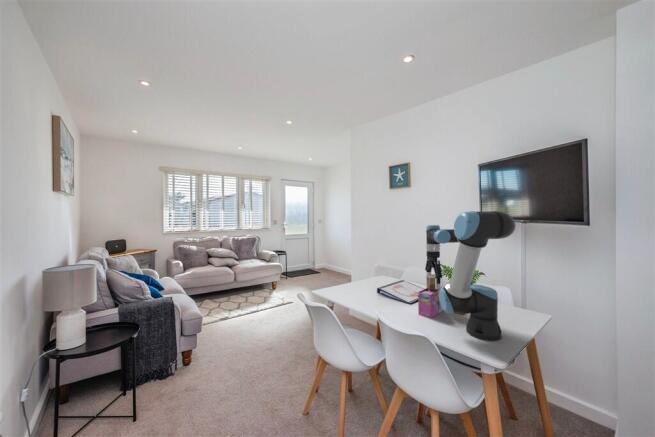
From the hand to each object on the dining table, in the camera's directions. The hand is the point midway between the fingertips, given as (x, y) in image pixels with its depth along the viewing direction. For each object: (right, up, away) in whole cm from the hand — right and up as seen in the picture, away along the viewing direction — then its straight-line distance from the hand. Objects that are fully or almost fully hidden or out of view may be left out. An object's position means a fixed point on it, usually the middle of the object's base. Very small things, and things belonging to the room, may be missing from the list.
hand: (433, 285), depth 161 cm
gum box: (0, -16, +1) cm, 16 cm away
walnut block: (0, -2, +1) cm, 2 cm away
